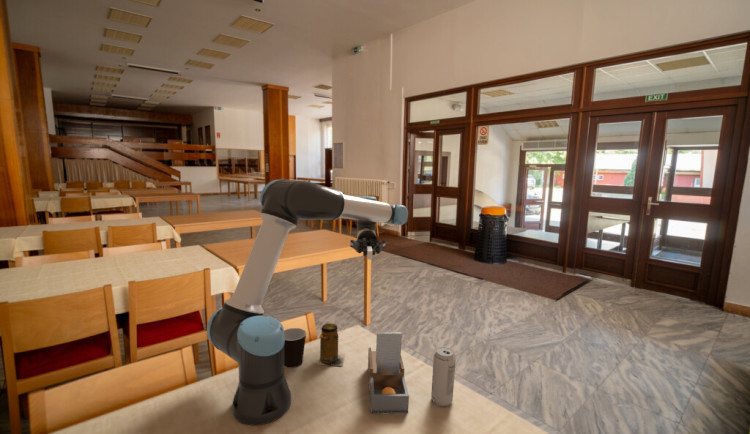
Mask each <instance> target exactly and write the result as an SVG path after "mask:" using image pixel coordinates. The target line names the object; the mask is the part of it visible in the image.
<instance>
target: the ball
mask: <svg viewBox="0 0 750 434" xmlns="http://www.w3.org/2000/svg"><path fill="white" fill-rule="evenodd" d="M382 394H396V393H395V391H394V389H393V388H391V387H386V388H384V389H383V391H382Z"/></svg>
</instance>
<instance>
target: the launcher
mask: <svg viewBox="0 0 750 434" xmlns="http://www.w3.org/2000/svg"><path fill="white" fill-rule="evenodd" d="M367 352H368V355H367V372H368V373H367V374H368V387H369V391H368V392H370V376H373V383H374V389H384V388H386V387H391V388H393V389H401V376H404V377H405V365H404V362H403V357H402V356H401V361H400V363H399V375H377V374H376V369H377V364H376V350H372V347H368V351H367Z"/></svg>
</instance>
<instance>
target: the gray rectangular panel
mask: <svg viewBox="0 0 750 434" xmlns="http://www.w3.org/2000/svg"><path fill="white" fill-rule="evenodd" d="M402 337H403V334H402V331H376V342H375V343H376V345H375V351H376V364H377V369H376V374H377V375H399V363H400V361H401V357H402Z"/></svg>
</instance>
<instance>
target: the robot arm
mask: <svg viewBox="0 0 750 434" xmlns="http://www.w3.org/2000/svg"><path fill="white" fill-rule="evenodd" d="M259 203H260V207H261V208H262V209H261V211H260V213H259V214H260V217H261V219H262V222H261V224H260V227H259V230H258V233H257V235H256V238H255V239H254V242H253V244H252V246H251V247H252V248H251V250H250V252H249V255H248V258H247V260H246V263H245V265H244V267H243V270H242V272H241V275H240V277H239V280H238V282H237V284H236V287H235V289H234V292H233V295H232V296H231V297H230V298H228V299H225V300H224V302H223V306H221V307H220V308H218V310H217V311H214V313H212V314H211V316H210V317H209V320H208V322H207V325H206V336H207V339H208V341H210V344H212V346H213V347H214V348H216V350H218V351H220V352H222V353H223V354H225V356H228V357H229V358H230V359H232V360H233V361H235V362H236V363H237V364H238V384H237V387H236V390H235V393H234V397H233V400H232V403H231V404H232V414H233V417H234V419H235V420H237V422H239V423H242V424H243V425H250V426H258V425H264V424H268V423H271V422H274V421H276V420H278V419H279V418H282V416H283V415H284V414H286V413H287V411H288V410H289V408H290V406H291V403H292V393H291V390H290V387H289V384H288V381H287V379H286V377H285V376H286V375H285V366H284V343H285V335H284V330H285V329H284V325H283V324H282V323H281V321H280V320H278V319H277V318H275V317H272V316H268V315H267V316H264V313H265V311H264V308H263V306H262V304H263V302H264V299H265V296H266V293H267V291H268V289H269V285H270V282H271V280H272V277H273V275H274V272H275V269H276V266H277V265H278V262H279V259H280V257H281V254H282V252H283V250H284V245H285V243H286V240H288V239H287V238H288V235H289V233H290V231H291V230H294V229H296V228H297V226H298V223H299V220H305V221H307V220H308V221H313V220H314V221H315V220H320V221H321V220H322V221H323V220H327V221H336V220H338V219H339V218H341V219H348V220H357V223H356V240H354V239H351V240H350V242H349V243H350V244H349V247H350V248H352V249H353V250H354V251H355V252H356V253H358V254H362V256H364V257H366V258H367V260H373V256H375V255H376V254H377V255H379V254H380V253H381V252H382V251H383V249H385V248H386V240H379V239H378V237H377V234H376V231H377V230H376V229H377V228H376V225H377V223H382V224H389V225H395V226H403V225H405V223H407V220H408V217H409V209H408V208H407V207H406V206H405V205H401V204H395V203H393V204H392V203H387V202H384V201H379V200H377V197H376V196H372V195H371V196H367V195H364V196H363V195H362V196H359V197H358V196H355V195H354V196H353V195H348V194H343V192H342V191H341V190H339V189H336V188H335V189H334V188H330V187H328V186H324V185H322V184H318V183H315V182H311V181H306V180H295V179H294V180H293V179H286V178H281V179H275V180H274V179H273V180H272V181H269V182H268V183H267V184H266V185H265V186H264V187H263V188H262V190H261V193H260V195H259Z"/></svg>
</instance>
